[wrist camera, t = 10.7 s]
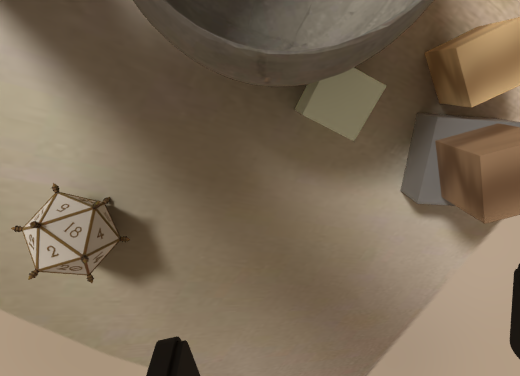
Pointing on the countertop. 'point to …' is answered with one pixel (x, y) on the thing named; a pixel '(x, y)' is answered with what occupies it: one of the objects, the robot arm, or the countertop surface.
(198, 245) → the countertop surface
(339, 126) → the sage cube
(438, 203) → the base block
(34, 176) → the countertop surface
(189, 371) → the robot arm
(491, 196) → the walnut cube
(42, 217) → the game die
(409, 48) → the countertop surface
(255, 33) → the bowl
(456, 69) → the oak cube
